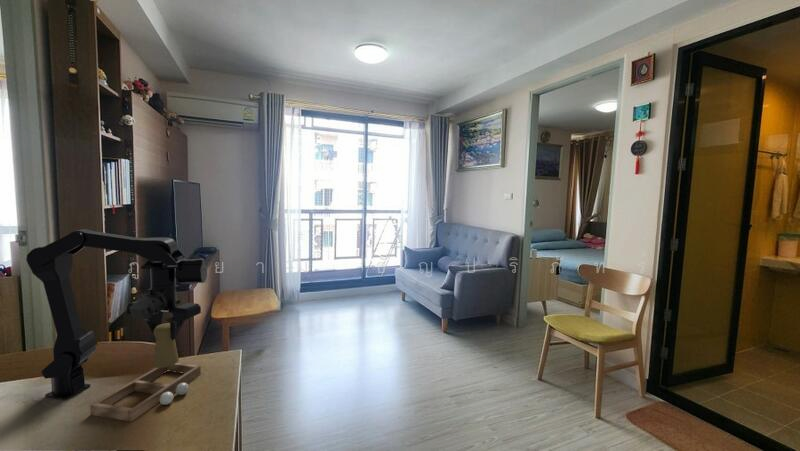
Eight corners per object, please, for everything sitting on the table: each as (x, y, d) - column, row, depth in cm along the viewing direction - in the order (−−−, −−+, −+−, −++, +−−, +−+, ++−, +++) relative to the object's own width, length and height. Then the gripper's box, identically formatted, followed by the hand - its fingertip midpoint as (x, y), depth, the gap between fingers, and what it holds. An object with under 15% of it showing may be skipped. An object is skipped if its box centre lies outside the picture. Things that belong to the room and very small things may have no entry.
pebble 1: (156, 406, 86) (156, 395, 86) (166, 399, 89) (166, 388, 89) (167, 408, 86) (166, 396, 86) (176, 401, 89) (176, 390, 89)
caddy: (90, 414, 82) (90, 404, 82) (166, 369, 104) (166, 361, 104) (131, 421, 81) (131, 411, 80) (200, 373, 102) (200, 365, 102)
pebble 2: (172, 396, 91) (172, 385, 90) (181, 390, 94) (181, 379, 93) (182, 397, 90) (182, 387, 90) (191, 391, 93) (191, 381, 93)
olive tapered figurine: (165, 369, 93) (164, 330, 92) (147, 366, 94) (145, 327, 93) (183, 358, 99) (182, 322, 98) (166, 356, 100) (165, 319, 99)
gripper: (105, 288, 88) (108, 347, 90) (168, 294, 85) (170, 355, 86) (144, 278, 99) (146, 330, 100) (201, 283, 96) (202, 337, 97)
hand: (165, 338), depth 96 cm, fingers closed on olive tapered figurine, 5 cm apart
